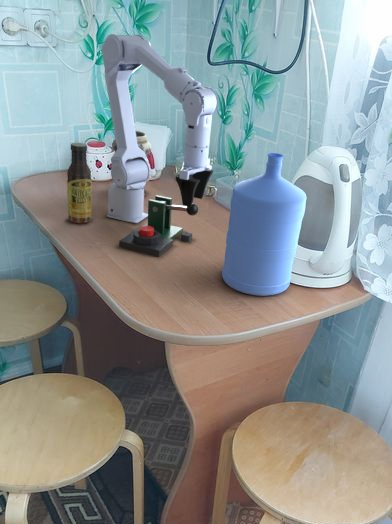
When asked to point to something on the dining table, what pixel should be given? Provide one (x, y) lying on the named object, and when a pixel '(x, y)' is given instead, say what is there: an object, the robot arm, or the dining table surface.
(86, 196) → the sauce bottle
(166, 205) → the rod
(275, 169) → the water jug
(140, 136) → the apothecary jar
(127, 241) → the button box
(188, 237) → the block
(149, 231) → the button
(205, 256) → the dining table surface
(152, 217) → the rod bracket
